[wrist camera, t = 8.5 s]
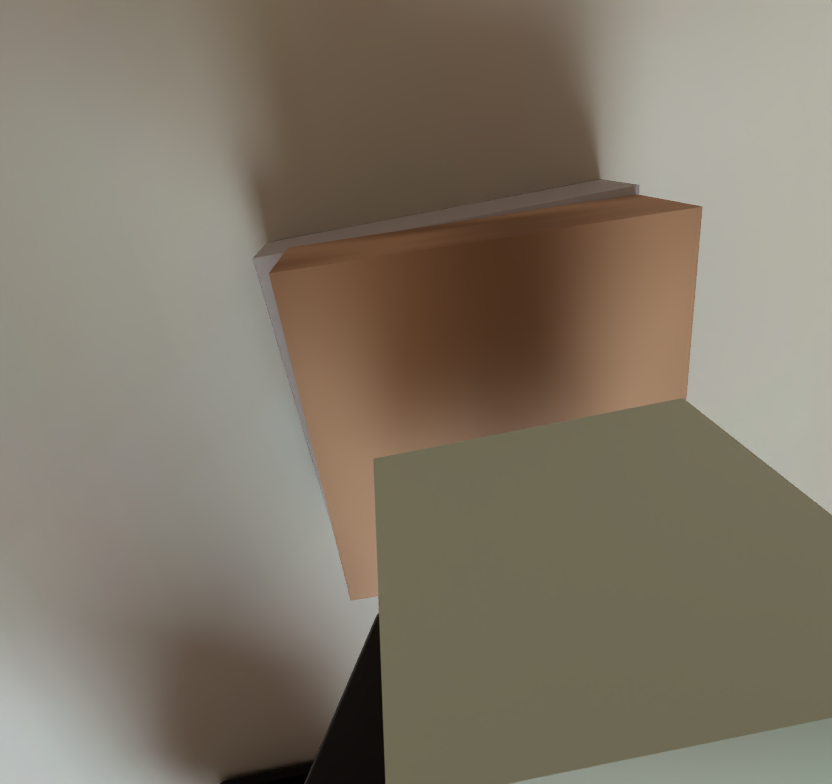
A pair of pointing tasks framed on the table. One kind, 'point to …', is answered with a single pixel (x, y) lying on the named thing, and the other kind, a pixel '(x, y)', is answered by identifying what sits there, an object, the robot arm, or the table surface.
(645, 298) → the top slab
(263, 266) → the bottom slab
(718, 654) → the green cube
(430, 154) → the table surface
